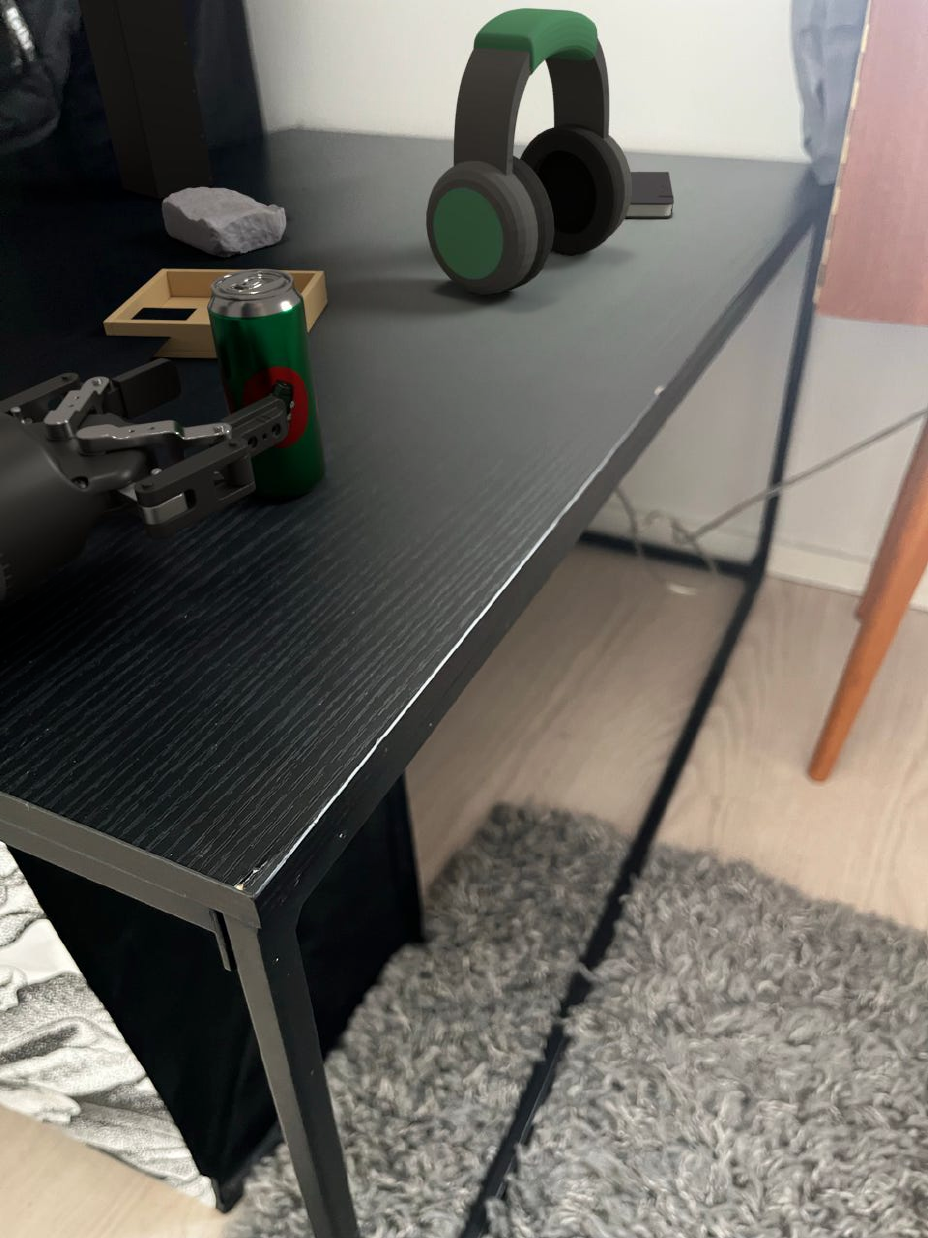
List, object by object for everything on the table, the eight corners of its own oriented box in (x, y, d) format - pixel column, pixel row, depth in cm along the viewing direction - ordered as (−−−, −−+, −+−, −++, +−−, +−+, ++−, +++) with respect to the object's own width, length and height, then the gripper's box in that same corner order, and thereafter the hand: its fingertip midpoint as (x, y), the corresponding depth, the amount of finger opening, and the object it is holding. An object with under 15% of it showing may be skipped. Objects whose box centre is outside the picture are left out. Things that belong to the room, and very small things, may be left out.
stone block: (241, 233, 102) (155, 233, 96) (242, 185, 100) (154, 183, 94) (302, 261, 96) (213, 264, 89) (305, 211, 93) (214, 210, 87)
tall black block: (158, 200, 108) (91, -109, 90) (121, 189, 112) (51, -107, 94) (215, 186, 112) (162, -111, 95) (178, 176, 116) (120, -110, 99)
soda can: (344, 474, 57) (320, 275, 50) (288, 513, 54) (253, 305, 46) (281, 454, 59) (250, 260, 52) (224, 489, 56) (182, 287, 49)
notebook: (667, 186, 107) (481, 185, 109) (668, 171, 106) (481, 171, 108) (672, 218, 97) (468, 217, 99) (674, 202, 96) (468, 201, 98)
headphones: (522, 314, 77) (526, 28, 64) (419, 289, 82) (404, 20, 70) (635, 252, 89) (658, 0, 76) (539, 234, 94) (545, -5, 81)
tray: (112, 356, 72) (102, 321, 71) (168, 299, 82) (161, 268, 80) (290, 360, 71) (285, 325, 69) (327, 302, 80) (324, 270, 79)
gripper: (8, 505, 35) (313, 356, 45) (-175, 409, 42) (125, 298, 52) (66, 658, 39) (331, 492, 49) (-106, 549, 46) (157, 423, 56)
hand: (226, 393), depth 50 cm, fingers open, 8 cm apart
